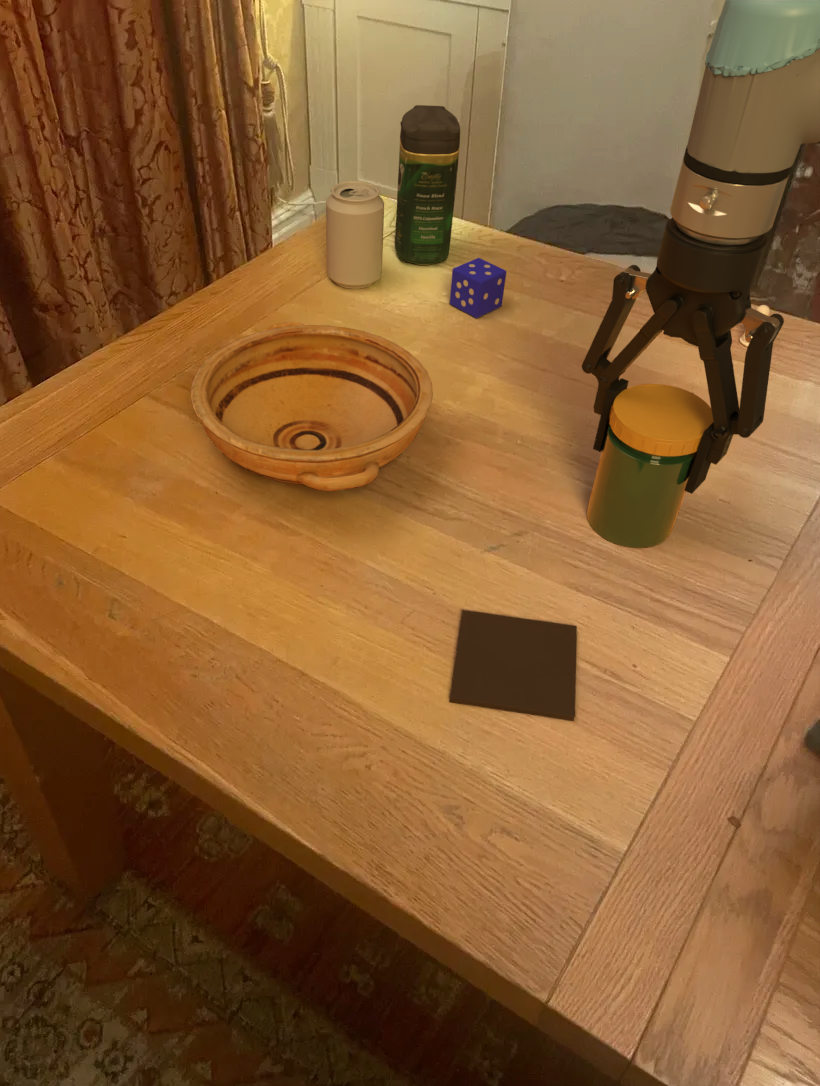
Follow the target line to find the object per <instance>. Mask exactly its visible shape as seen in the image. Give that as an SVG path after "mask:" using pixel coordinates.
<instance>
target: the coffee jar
mask: <svg viewBox="0 0 820 1086" xmlns="http://www.w3.org/2000/svg"><path fill="white" fill-rule="evenodd" d="M460 125H461V124H460V122H459V120H458V118H457V117H456V116H455V115H454V114H453V113H452V112H451V111H449V110H448V109H446V107H445V106H443V105H428V104H427V105H425V104H422V105H421V104H416V105H413V107H412V108H411V109H409V110H408V111H406V112H405V113H404V114H403V116H402V118H401V121H400V134H399V151H398V152H399V153H398V155H399V157H398V174H397V191H396V192H397V193H396V209H395V226H394V228H395V229H394V249H395V253H396V256H397V258H399V259H400V260H401V261H403V262H408V263H411V264H415V265H417V266H430V265H434V264H438V263H442V262H443V263H444V262H445V261H446V260H447V259H448V258H449V256H450V248H451V240H452V229H453V221H454V220H453V218H454V210H455V203H456V202H455V201H456V192H457V182H458V171H459V157H460V145H461V126H460Z"/></svg>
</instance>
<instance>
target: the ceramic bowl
mask: <svg viewBox="0 0 820 1086" xmlns="http://www.w3.org/2000/svg"><path fill="white" fill-rule="evenodd" d="M433 390H434V389H433V382H432V379H431V378H430V375H429V371H427V370H426V368H425V366H424V365H423V364H422V362H420V360H419V359H417V358H416V357H415V356H414V354H412V353H411V352H410V351H408V350H407V349H405V348H404V347H402V346H401V345H399V344H397V343H396V342H393V341H391V340H389V339H386V338H384V337H383V336H380V335H376V334H373V333H371V332H366V331H364V330H360V329H355V328H351V327H345V326H335V325H328V324H327V325H325V324H324V325H318V324H304V323H302V322H301V323H300V322H293V321H292V322H291V321H290V322H289V321H288V322H287V321H286V322H285V321H284V322H279V323H276V324H274V325H271V326H269V327H267V328H266V329H265V330H263V331H258V332H256V333H252V334H249V335H246V336H244V337H241V338H238V339H236V340H234V341H233V342H230V343H228V344H227V345H224V346H223V347H221V348H220V349H218V350H217V351H216V352H214V353H213V354H212V355H211V356H209V357H208V358H207V359H206V361H205V362H203V363H202V365H201V366H200V367H199V368H198V371H197V372H196V374H195V376H194V378H193V380H192V384H191V388H190V400H191V404H192V407H193V409H194V412H195V414H196V417H197V418H198V419H199V420H200V421H199V422H200V423H201V425H202V427H203V430H204V431H205V434H206V435H207V436H208V438H209V439H210V440H211V441H212V443H213V444H214V445H215V447H216V448H217V450H218V451H220V453H222V454H223V455H224V456H226V457H227V458H228V459H229V460H230V461H231V462H233V463H235V464H237V465H238V466H240V467H241V468H243V469H245V470H247V471H249V472H251V473H253V474H255V475H258V476H260V477H264V478H266V479H270V480H274V481H279V482H282V483H288V484H298V485H305V486H307V487H309V488H310V489H314V490H317V491H318V490H319V491H326V492H333V491H341V490H347V489H355V488H361V487H363V486H366V485H369V484H371V483H372V482H373V481H375V480H376V479H377V477H378V476H379V471H380V469H381V468H383V467H385V466H387V465H388V464H390V463H391V462H392V461H393V460H395V459H396V458H398V457H399V456H400V455H401V454H403V452H404V451H405V450H406V449H407V448H408V447H409V446H410V445H411V444H412V442H413V441H414V440H415V438H416V437H417V435H418V433H419V431H420V429H421V428H422V425H423V423H424V421H425V419H426V416H427V414H428V412H429V410H430V408H431V405H432V401H433V397H434V391H433Z"/></svg>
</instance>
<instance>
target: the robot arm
mask: <svg viewBox="0 0 820 1086" xmlns="http://www.w3.org/2000/svg"><path fill="white" fill-rule="evenodd" d="M704 66H705V67H704V71H703V75H702V80H701V84H700V89H699V92H698V93H699V94H698V97H697V102H696V106H695V110H694V115H693V118H692V119H693V120H692V122H691V127H690V132H689V136H688V141H687V145H686V147H685V150H684V155H683V156H682V161H681V165H680V169H679V173H678V177H677V181H676V185H675V189H674V193H673V197H672V201H671V205H670V208H669V211H670V216H671V217H670V219H668V221H666V224H665V227H664V231H663V235H662V239H661V243H660V247H659V251H658V256H657V259H656V266H655V269H654V271H653V272H652V273H649V272H644V271H641V268H640V266H638V265H636V264H631V265H630V266H628V267H626V268H625V269H623V270H622V271H621V272H619V273H618V274H616V275H615V277H614V278H613V284H612V294H611V301H610V304H609V306H608V307H607V310H606V312H605V314H604V316H603V317H602V320H601V322H600V325H599V327H598V328H597V331H596V333H595V335H594V338H593V340H592V342H591V344H590V347H589V348H588V351H587V353H586V354H585V356H584V359H583V361H582V363H581V369H582V372H584V373H585V374H589V375H590V374H591V375H593V376H594V377H595V378H596V381H597V383H598V384H597V390H596V394H595V398H594V404H593V413H594V414H597V415H599V416H600V418H599V422H598V426H597V429H596V435H595V439H594V442H593V447H592V450H594V451H596V452H599V453H602V449H603V445H604V441H605V438H606V434H607V430H608V426H609V423H610V417H609V416H610V412H611V407H612V406H613V403H614V400H615V398H616V397H617V395H619V394H620V393H621V392H622V391H623V390H625V389H627V388H628V386H629V382H630V381H629V380H627V379H626V378H623V377H621V376H622V375H623V374H624V373H626V371H627V370H628V369H629V367H630V366H631V365H632V364H633V363H634V362H635V361H636V360H637V359H638V357H640V356H641V354H642V353H643V352H644V351H645V350H646V349H647V348H648V347H649V346H650V345H651V344H652V342H654V341H655V339H656V338H657V337H658V336H659V335H660V334H661V333H662V332H663V335H665V336H668V337H670V338H678V339H682V340H683V341H685V342H686V343H687V344H689V345H691V346H695V347H697V348H698V355H699V359H700V360H701V361H703V362H702V363H703V367H704V372H705V378H706V384H707V390H708V397H709V403H710V408H711V409H712V416H713V423H712V424H711V425H710V426H709V427H708V428H707V429H706V430H705V431H704V433H703V436H702V439H701V442H700V445H699V448H698V451H697V454H696V457H695V460H694V463H693V466H692V469H691V472H690V475H689V478H688V481H687V484H686V487H685V490H684V491H686V492H685V493H688V494H694V493H695V492H696V490H697V489H698V488H699V487H700V486H701V485H702V484H703V483H704V482H705V481H706V478H707V476H708V473H709V470H710V468H711V464H713V465H717V464H718V463H720V461H721V460H722V459H723V458H724V457H725V456H726V455H727V453H728V451H729V447H730V445H731V443H732V440H733V437H734V435H738V436H739V437H741V438H744V439H748V438H750V437H751V435H752V434H754V432H756V431H757V429H758V428H759V427H760V426H761V425H762V424H763V422H764V418H765V411H766V403H767V394H768V386H769V378H770V371H771V365H772V364H771V363H772V356H773V347H774V342H775V341H776V339H777V337H778V335H779V333H780V332H781V329H782V327H783V326H784V322H785V318H784V316H783V315H781V314H780V313H773V314H770V315H769V316H767V315H765V314H763V313H761V312H759V311H757V310H756V309H754V308H753V307H752V301H751V291H752V287H753V284H754V282H755V278H756V275H757V273H758V270H759V267H760V264H761V260H762V257H763V254H764V252H765V249H766V246H767V243H768V236H767V234H766V233H768V232H769V231H770V230H771V229H772V228H773V226H774V222H775V219H776V216H777V213H778V210H779V208H780V204H781V201H782V198H783V196H784V192H785V188H786V185H787V183H788V179H789V176H790V174H791V172H792V168H793V166H794V163H795V160H796V158H797V155H798V153H799V150H800V147H801V145H803V144H814V145H815V144H816V145H817V144H818V145H820V0H724V4H723V6H722V9H721V12H720V15H719V17H718V20H717V23H716V26H715V30H714V33H713V37H712V40H711V43H710V46H709V49H708V51H707V53H706V55H705V61H704ZM645 291H646V294H647V297H648V300H649V303H650V305H651V308H652V311H653V314H652V315H651V317H650V318H649V319H648V320H647V321H646V322H645V324H643V326H642V327H640V329H639V331H638V332H637V333H636V334H635V335H634V336H633V338H632V339H631V340H630V341H629V342H628V343H627V344H626V345H625V346H624V348H622V349H621V351H620V352H619V353H618V354H617V355H616V356H615V357H614V359H613V360H612V361H610V360H609V359H608V358H609V356H610V354H611V352H612V349H613V347H614V346H615V343H616V342H617V340H618V337H619V336H620V333H621V331H622V329H623V327H624V325H625V323H626V321H627V319H628V318H629V315H630V313H631V311H632V309H633V307H634V305H635V303H636V301H637V298H638V297H640V296H641V295H642V294H643V293H644V292H645ZM739 324H742V325H743V326H744V329H745V332H744V333H745V340H746V341H747V342H750V343H749V345H748V347H746V351H745V355H744V365H743V374H742V381H741V382H742V383H741V392H740V400H739V396H738V390H737V384H736V383H737V382H736V377H735V371H734V370H735V369H734V363H733V357H732V351H731V349H732V344H733V336H732V330H731V329H733V328H735V327H737V326H738V325H739ZM620 377H621V378H620Z"/></svg>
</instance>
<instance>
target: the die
mask: <svg viewBox="0 0 820 1086" xmlns="http://www.w3.org/2000/svg"><path fill="white" fill-rule="evenodd" d="M506 279H507V270H506V269H504V268H502V267H499V266H497V265H496V264H493V263H491V262H490V261H487V260H484V259H482V258H480V257H477V258H474V259H472V260H470V261H467V262H464V263H463V264H460V265H458V266H455V267H453V268H452V273H451V283H450V295H449V305H450V306H452V307H453V308H455V309H457V310H459V311H461V312H464V313H465V314H467V315H469V316H471V317H473V318H475V319H478V318H480V317H483V316H485V315H487V314H490V313H491V312H493V311H495V310H498V309H499V308H501V307H503V302H504V301H503V300H504V295H505V294H504V293H505V287H506Z"/></svg>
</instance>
